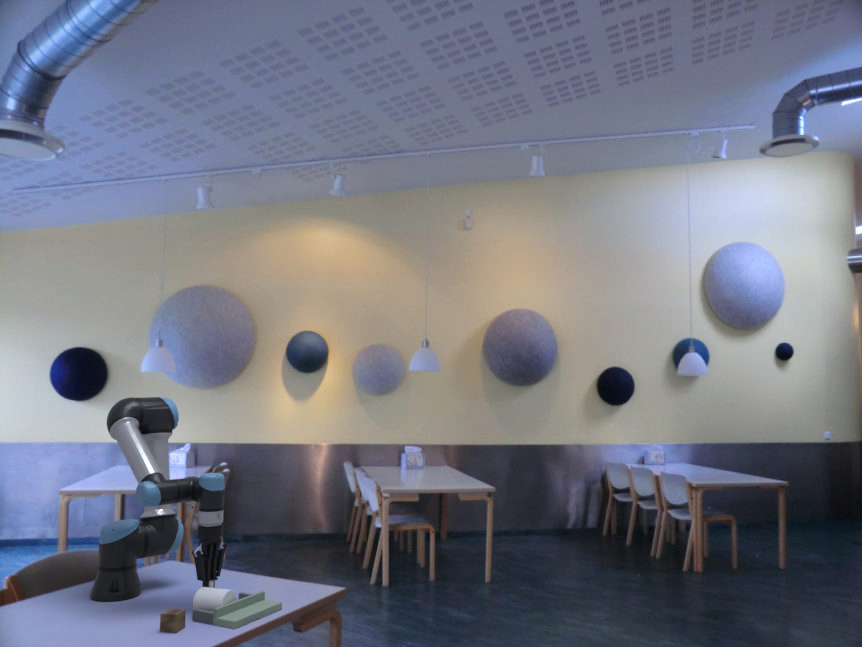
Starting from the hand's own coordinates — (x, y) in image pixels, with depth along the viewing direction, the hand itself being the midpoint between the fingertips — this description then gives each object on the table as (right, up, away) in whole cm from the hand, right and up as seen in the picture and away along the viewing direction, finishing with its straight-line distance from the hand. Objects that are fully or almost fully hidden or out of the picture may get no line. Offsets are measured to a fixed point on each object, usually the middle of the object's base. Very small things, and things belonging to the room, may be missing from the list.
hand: (208, 602), depth 222 cm
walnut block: (-4, 0, -19) cm, 20 cm away
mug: (+5, -2, -5) cm, 7 cm away
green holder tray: (+11, -2, -6) cm, 12 cm away
